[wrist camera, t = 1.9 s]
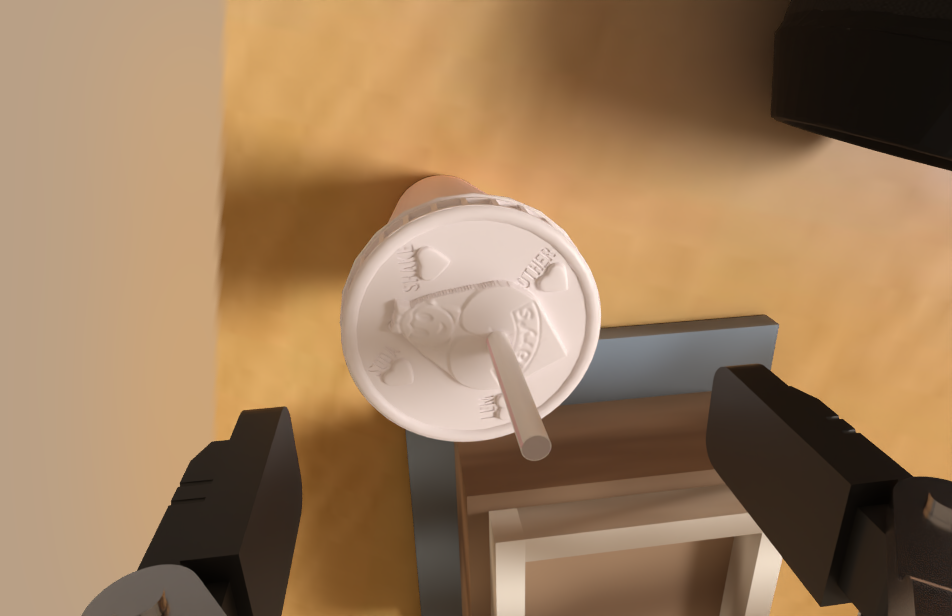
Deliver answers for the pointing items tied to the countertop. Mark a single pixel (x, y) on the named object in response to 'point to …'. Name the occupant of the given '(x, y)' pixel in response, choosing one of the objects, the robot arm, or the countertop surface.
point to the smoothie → (469, 316)
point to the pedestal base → (601, 494)
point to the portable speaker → (868, 74)
